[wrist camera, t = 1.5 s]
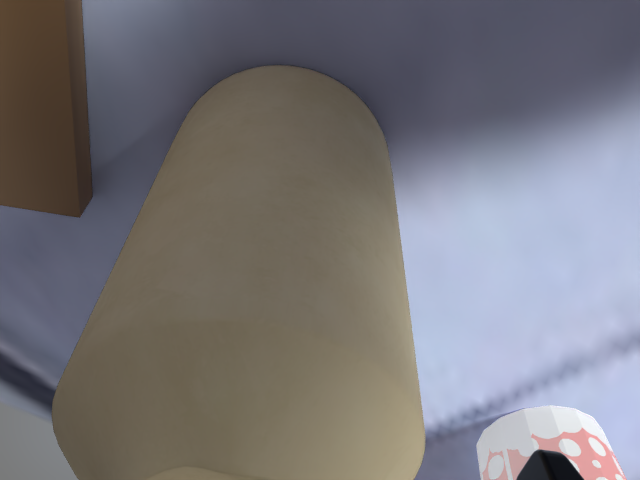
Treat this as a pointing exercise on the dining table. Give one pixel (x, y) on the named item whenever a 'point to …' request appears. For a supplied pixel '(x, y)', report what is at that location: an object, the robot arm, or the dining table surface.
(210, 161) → the candle
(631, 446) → the dining table surface
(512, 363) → the dining table surface
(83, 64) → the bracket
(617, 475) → the beverage cup
